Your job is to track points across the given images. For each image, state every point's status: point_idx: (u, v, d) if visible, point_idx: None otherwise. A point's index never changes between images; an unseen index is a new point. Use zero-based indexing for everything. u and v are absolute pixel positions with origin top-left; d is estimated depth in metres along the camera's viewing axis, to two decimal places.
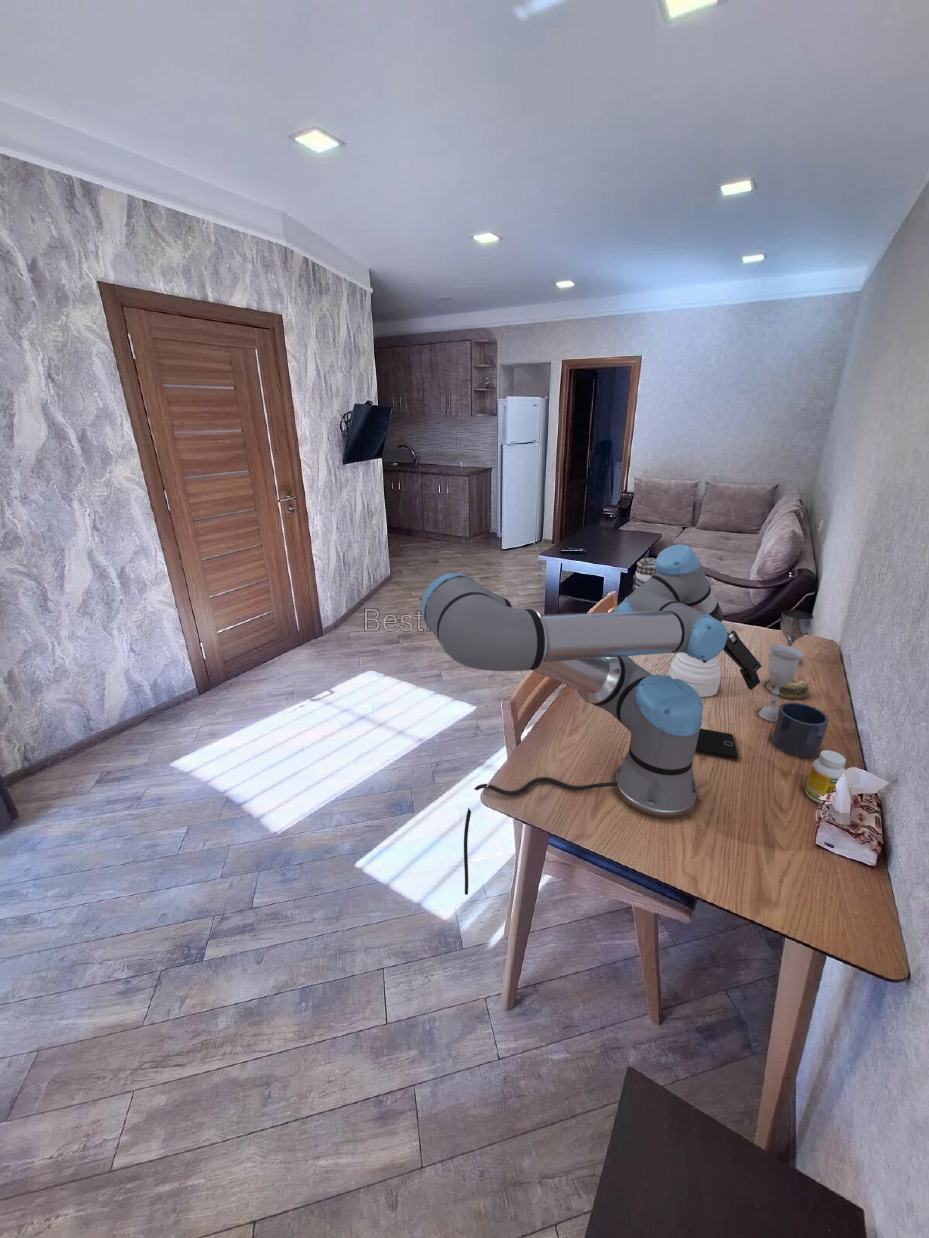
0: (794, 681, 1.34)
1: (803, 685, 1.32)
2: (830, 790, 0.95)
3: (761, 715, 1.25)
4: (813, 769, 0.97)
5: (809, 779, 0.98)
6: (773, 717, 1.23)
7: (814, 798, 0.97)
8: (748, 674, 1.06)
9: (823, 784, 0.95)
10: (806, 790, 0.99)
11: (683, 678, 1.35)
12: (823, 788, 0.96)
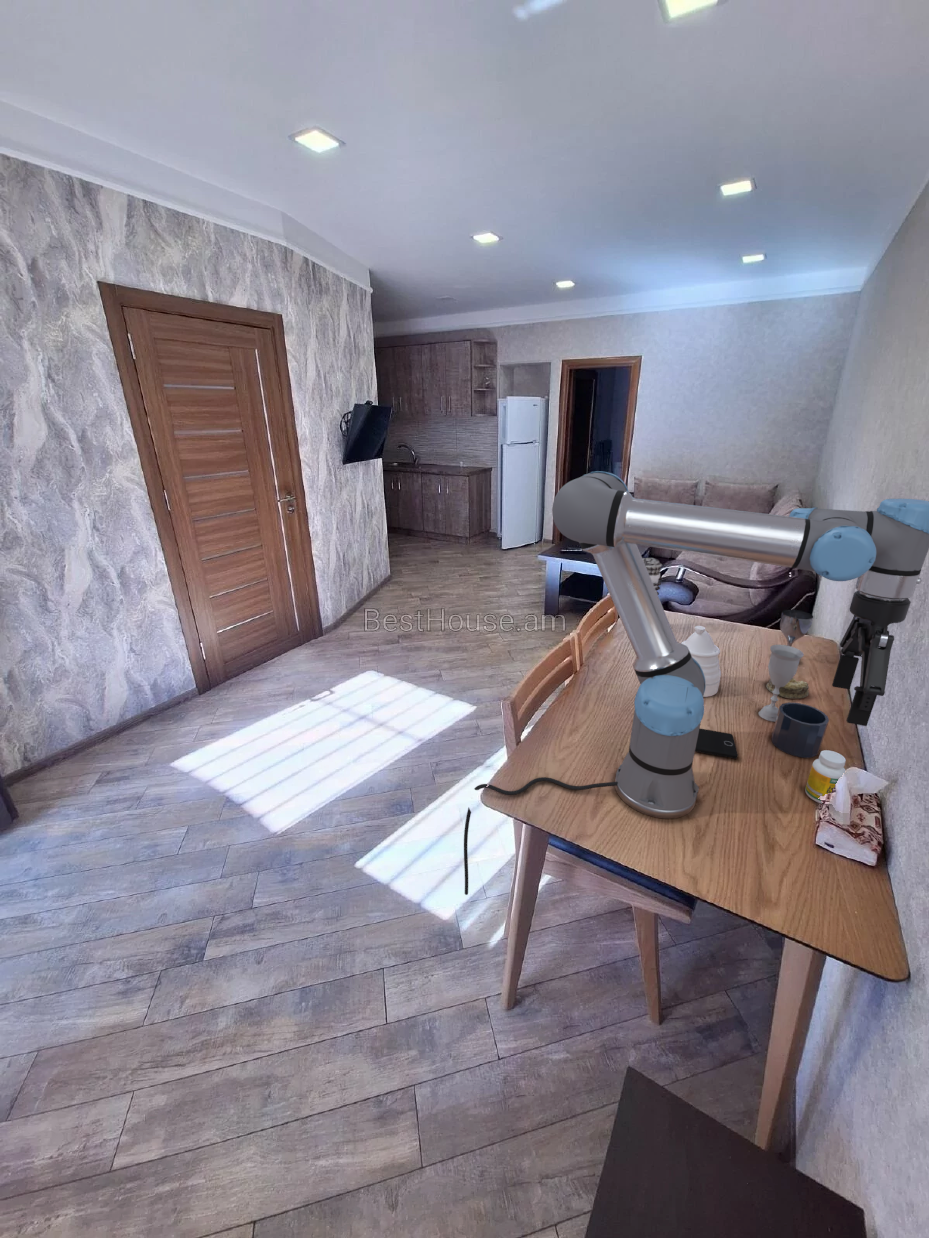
0: (794, 681, 1.34)
1: (803, 685, 1.32)
2: (830, 790, 0.95)
3: (761, 715, 1.25)
4: (813, 769, 0.97)
5: (809, 779, 0.98)
6: (773, 717, 1.23)
7: (814, 798, 0.97)
8: (861, 698, 0.83)
9: (823, 784, 0.95)
10: (806, 790, 0.99)
11: None
12: (823, 788, 0.96)
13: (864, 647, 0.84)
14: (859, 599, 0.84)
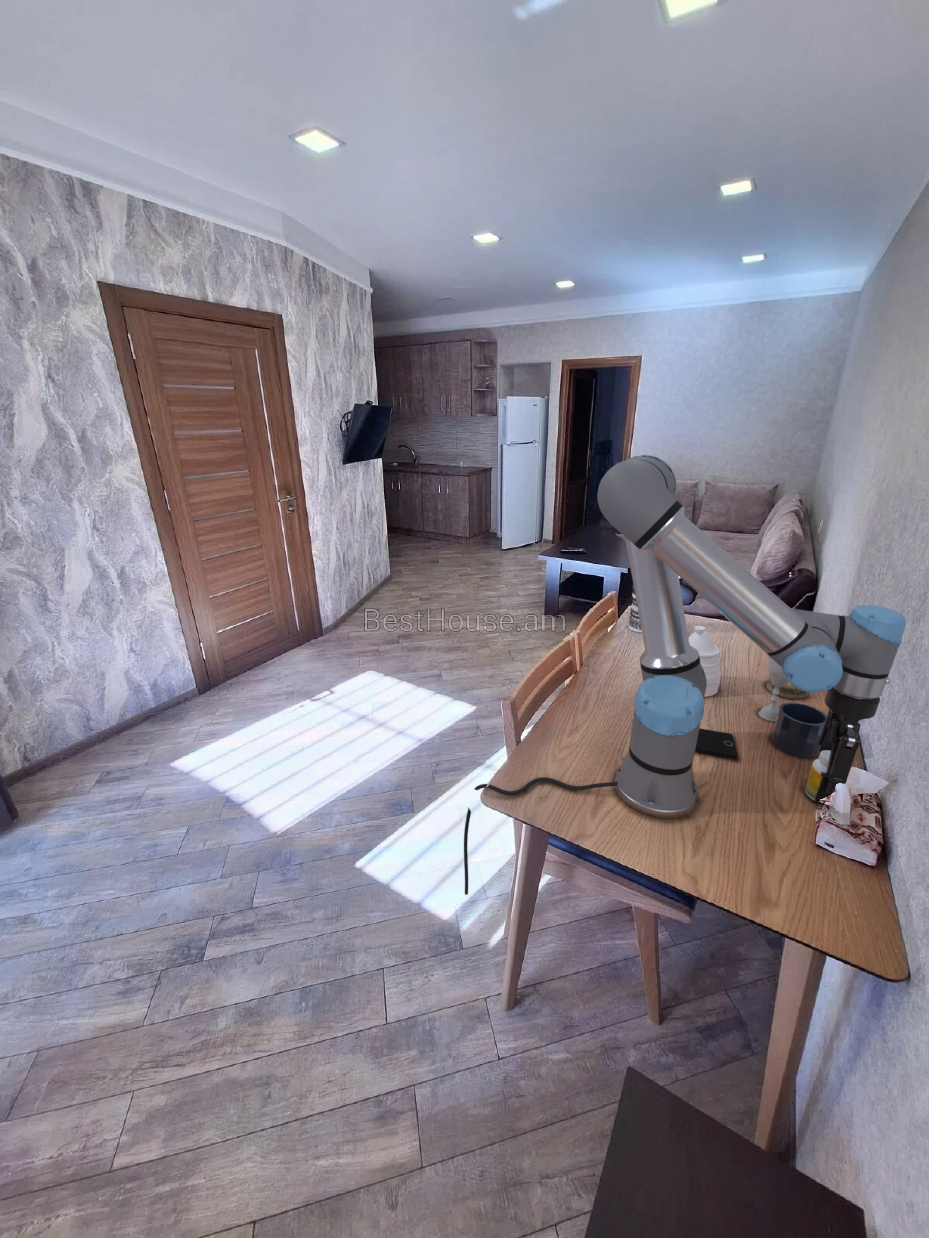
0: None
1: None
2: None
3: (761, 715, 1.25)
4: (813, 769, 0.97)
5: (809, 779, 0.98)
6: (773, 717, 1.23)
7: (814, 798, 0.98)
8: (827, 783, 0.94)
9: None
10: (806, 790, 0.99)
11: None
12: None
13: (835, 739, 0.92)
14: (833, 694, 0.90)
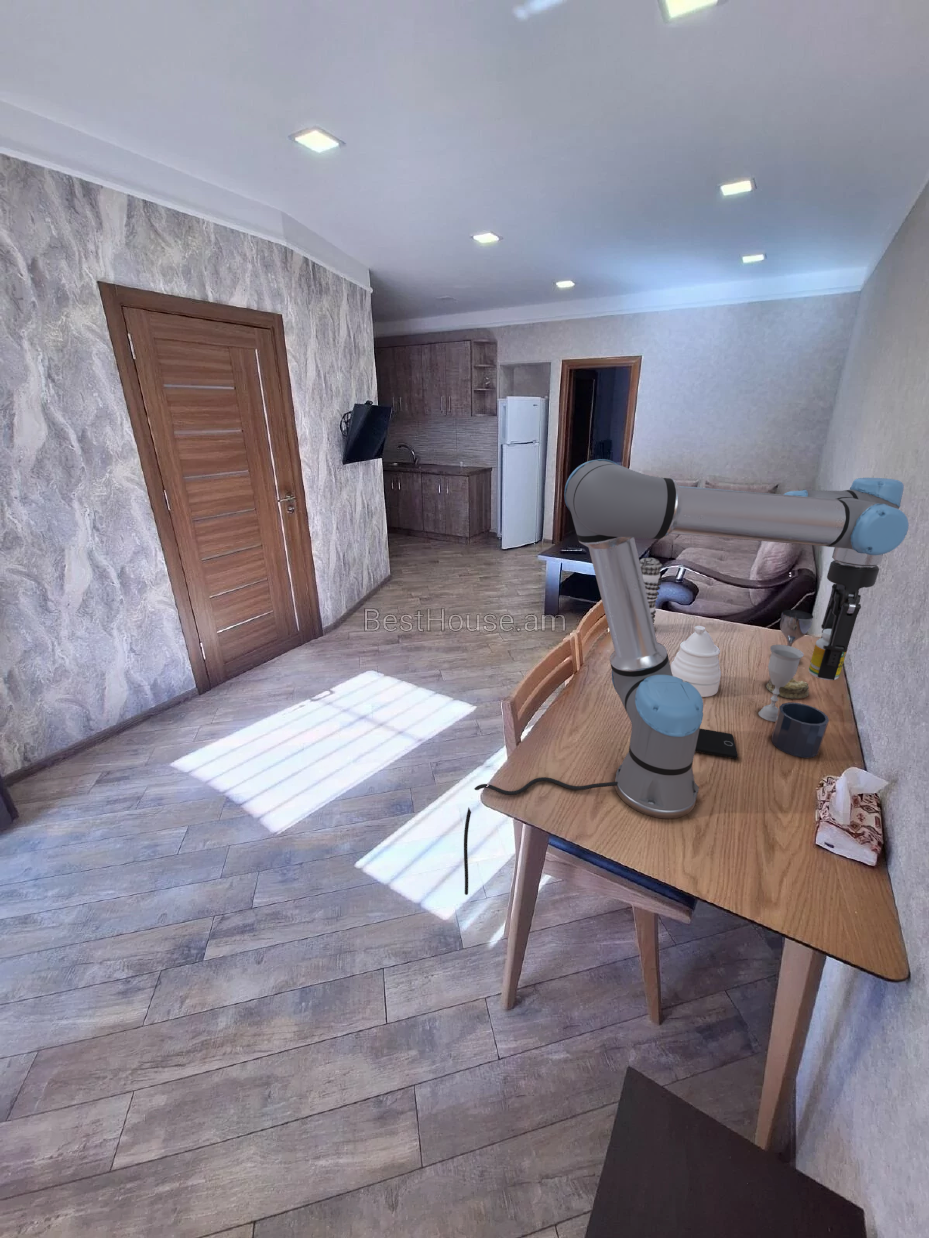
0: (794, 681, 1.34)
1: (803, 685, 1.32)
2: None
3: (761, 715, 1.25)
4: (816, 647, 1.02)
5: (812, 658, 1.03)
6: (773, 717, 1.23)
7: (817, 675, 1.02)
8: (829, 656, 0.99)
9: None
10: (809, 669, 1.04)
11: (683, 678, 1.35)
12: None
13: (836, 612, 0.97)
14: (834, 567, 0.95)
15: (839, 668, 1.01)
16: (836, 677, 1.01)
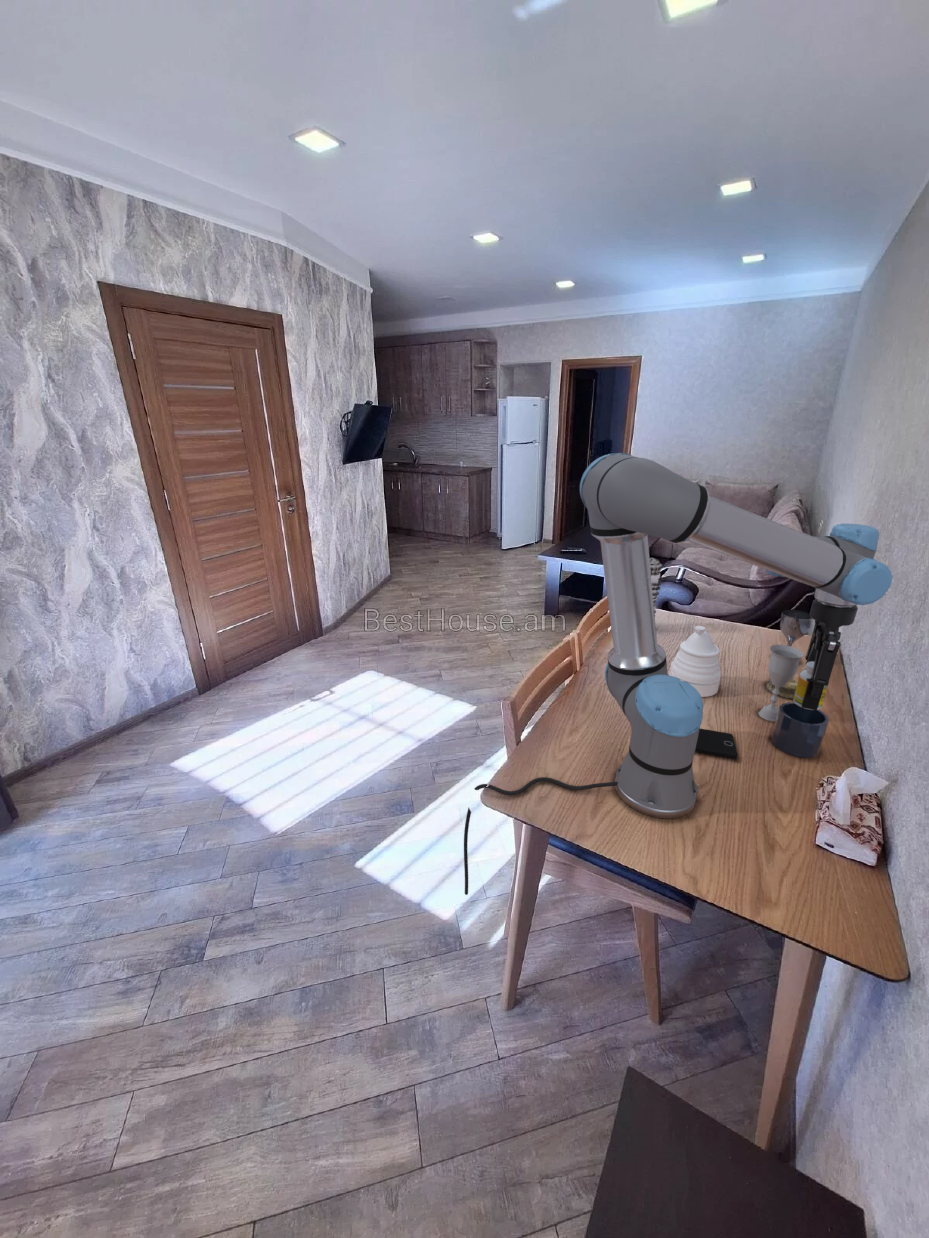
0: (794, 681, 1.34)
1: None
2: None
3: (761, 715, 1.25)
4: (800, 678, 1.08)
5: (797, 688, 1.10)
6: (773, 717, 1.23)
7: (801, 705, 1.09)
8: (811, 688, 1.05)
9: None
10: (794, 699, 1.10)
11: (683, 678, 1.35)
12: None
13: (818, 647, 1.03)
14: (816, 605, 1.01)
15: (821, 699, 1.07)
16: (819, 707, 1.08)
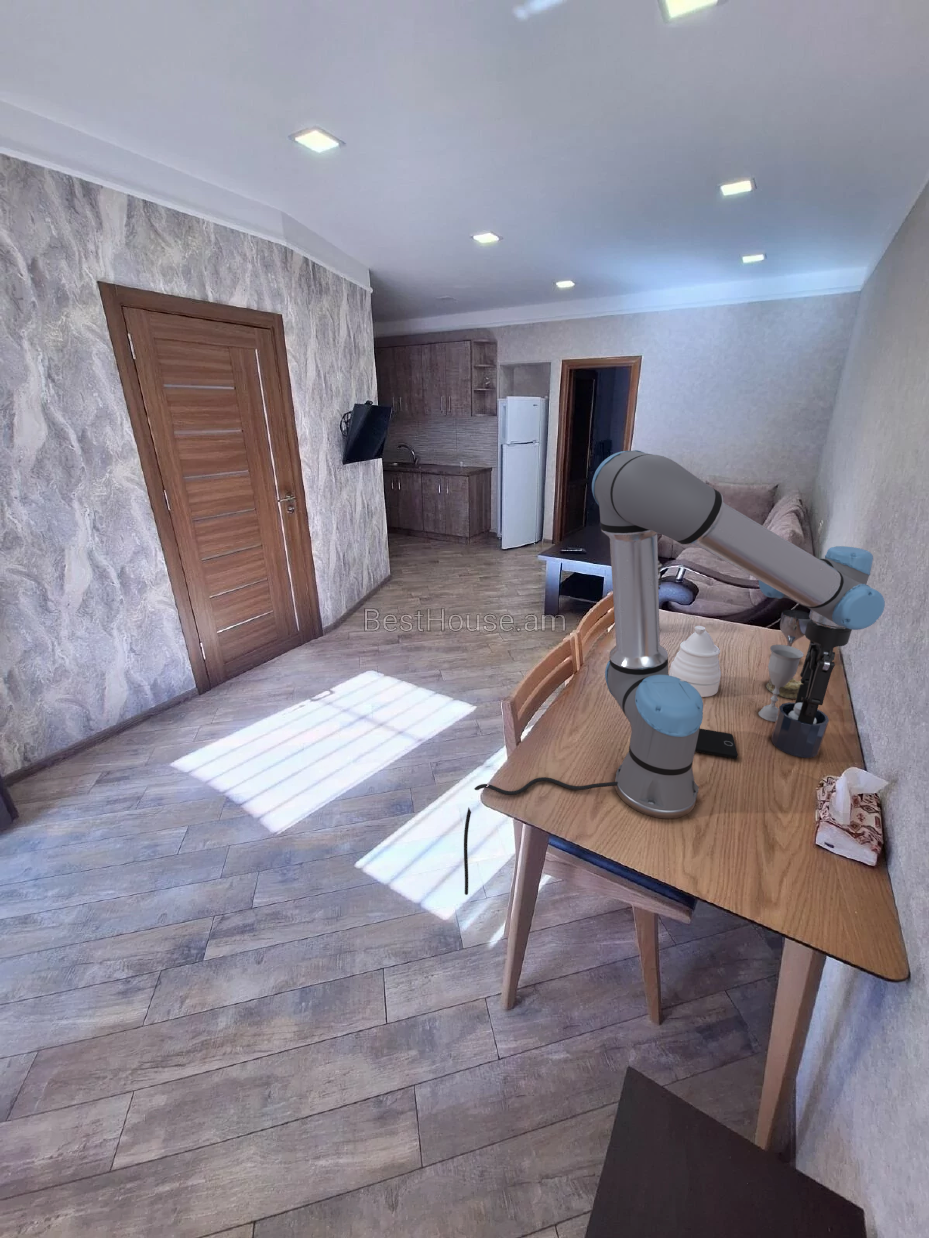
0: (794, 681, 1.34)
1: None
2: None
3: (761, 715, 1.25)
4: None
5: None
6: (773, 717, 1.23)
7: None
8: (806, 706, 1.06)
9: None
10: None
11: (683, 678, 1.35)
12: None
13: (813, 667, 1.05)
14: (811, 626, 1.03)
15: None
16: None
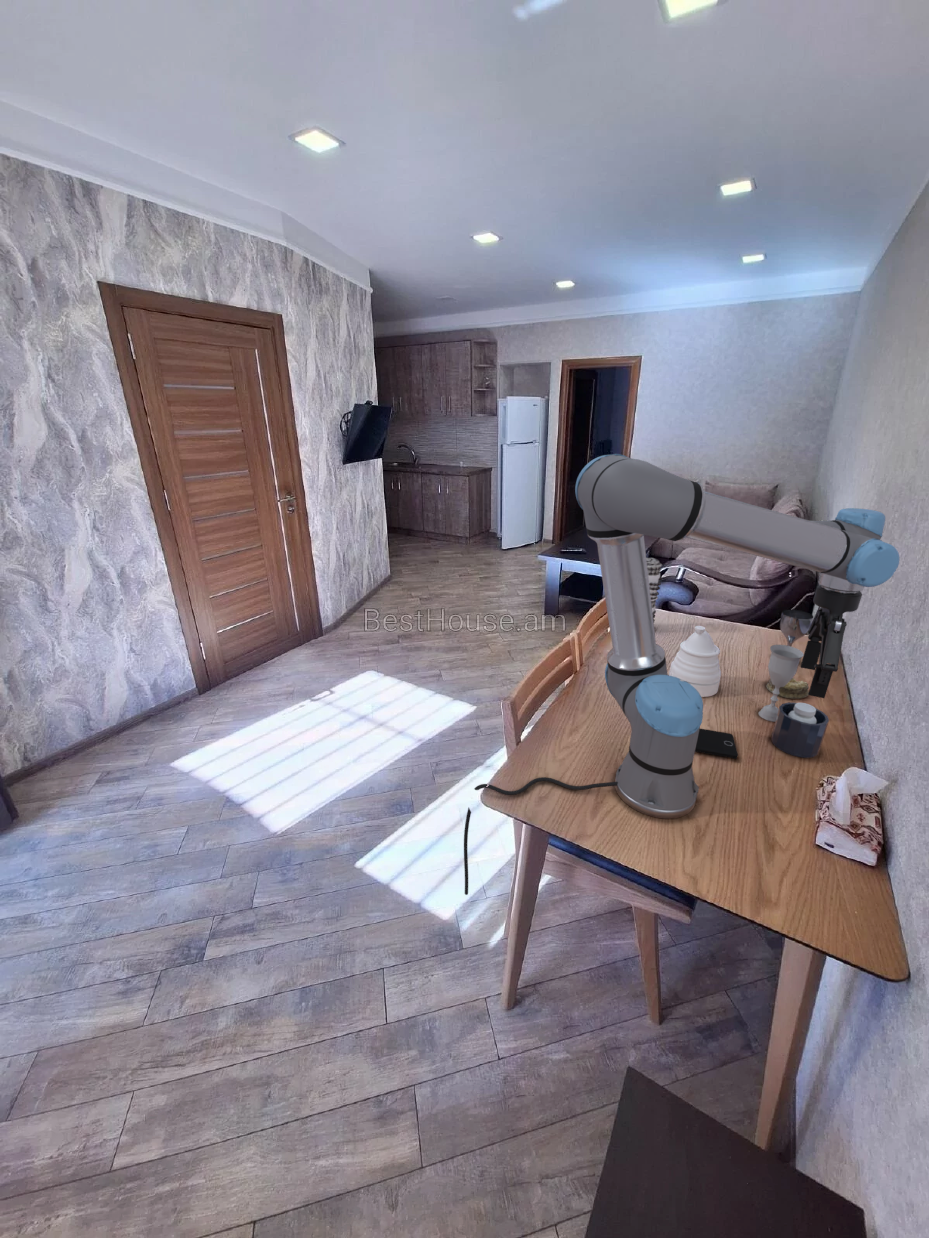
0: (794, 681, 1.34)
1: (803, 685, 1.32)
2: None
3: (761, 715, 1.25)
4: None
5: None
6: (773, 717, 1.23)
7: None
8: (819, 674, 1.00)
9: None
10: None
11: (683, 678, 1.35)
12: None
13: (823, 632, 1.01)
14: (820, 591, 1.00)
15: None
16: None
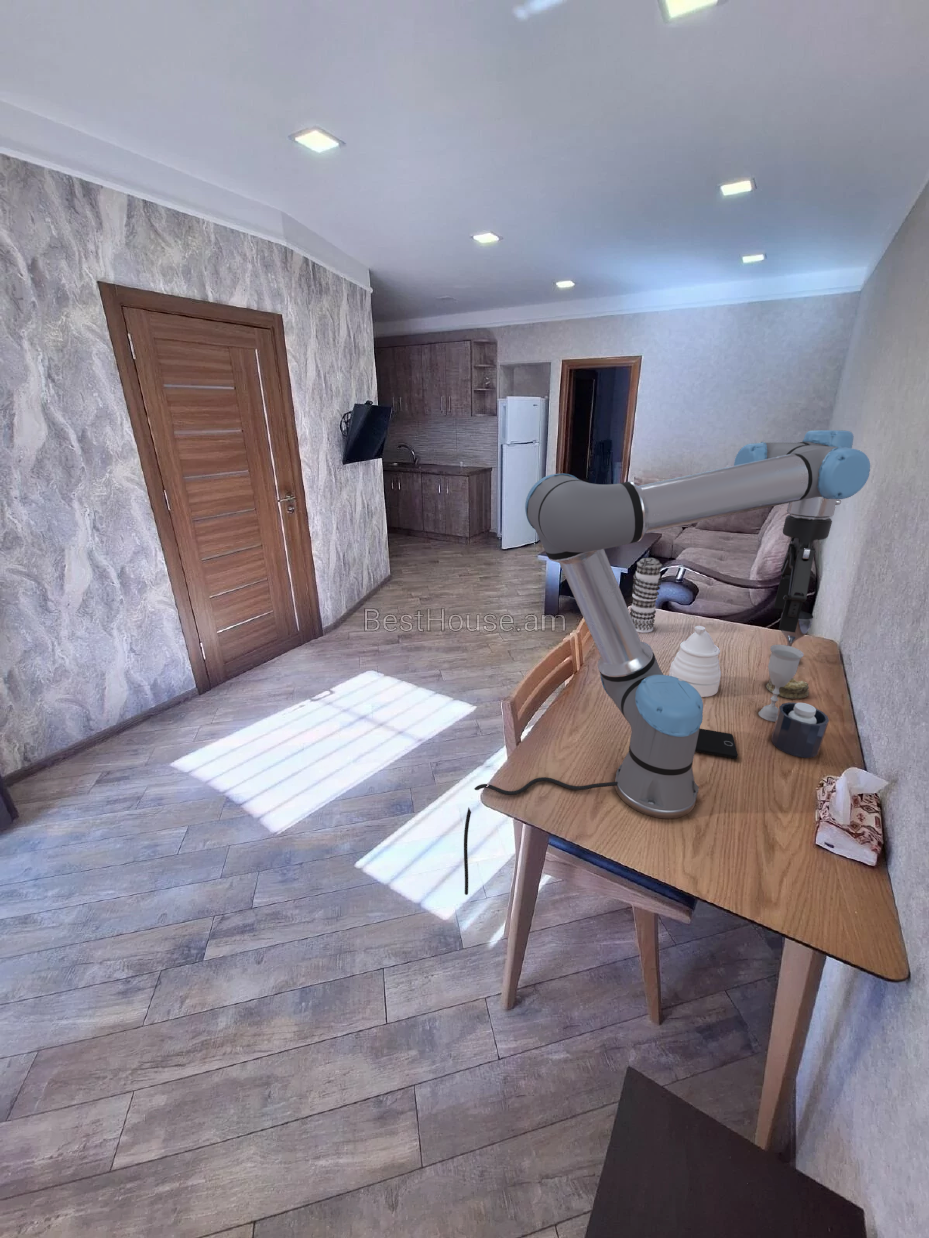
0: (794, 681, 1.34)
1: (803, 685, 1.32)
2: None
3: (761, 715, 1.25)
4: None
5: None
6: (773, 717, 1.23)
7: None
8: (789, 606, 0.96)
9: None
10: None
11: (683, 678, 1.35)
12: None
13: (793, 562, 0.96)
14: (789, 520, 0.96)
15: None
16: None
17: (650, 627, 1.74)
